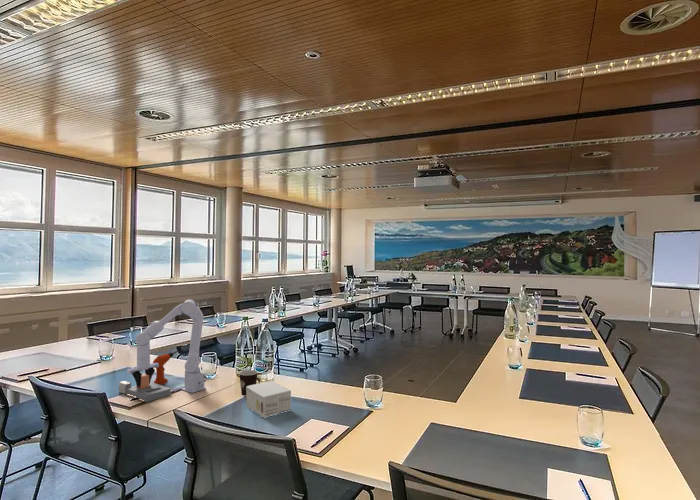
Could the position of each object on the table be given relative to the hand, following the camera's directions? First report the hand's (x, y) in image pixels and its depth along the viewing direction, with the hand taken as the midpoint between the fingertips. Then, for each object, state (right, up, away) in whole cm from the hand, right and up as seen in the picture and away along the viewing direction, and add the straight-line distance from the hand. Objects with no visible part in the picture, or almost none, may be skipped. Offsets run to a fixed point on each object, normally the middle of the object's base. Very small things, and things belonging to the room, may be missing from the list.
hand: (143, 385), depth 199 cm
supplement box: (+64, -4, -20) cm, 68 cm away
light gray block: (-9, -4, 0) cm, 10 cm away
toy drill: (+3, -4, +19) cm, 19 cm away
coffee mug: (+52, -4, -2) cm, 52 cm away
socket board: (+4, -4, -3) cm, 6 cm away
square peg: (0, -2, 0) cm, 2 cm away
